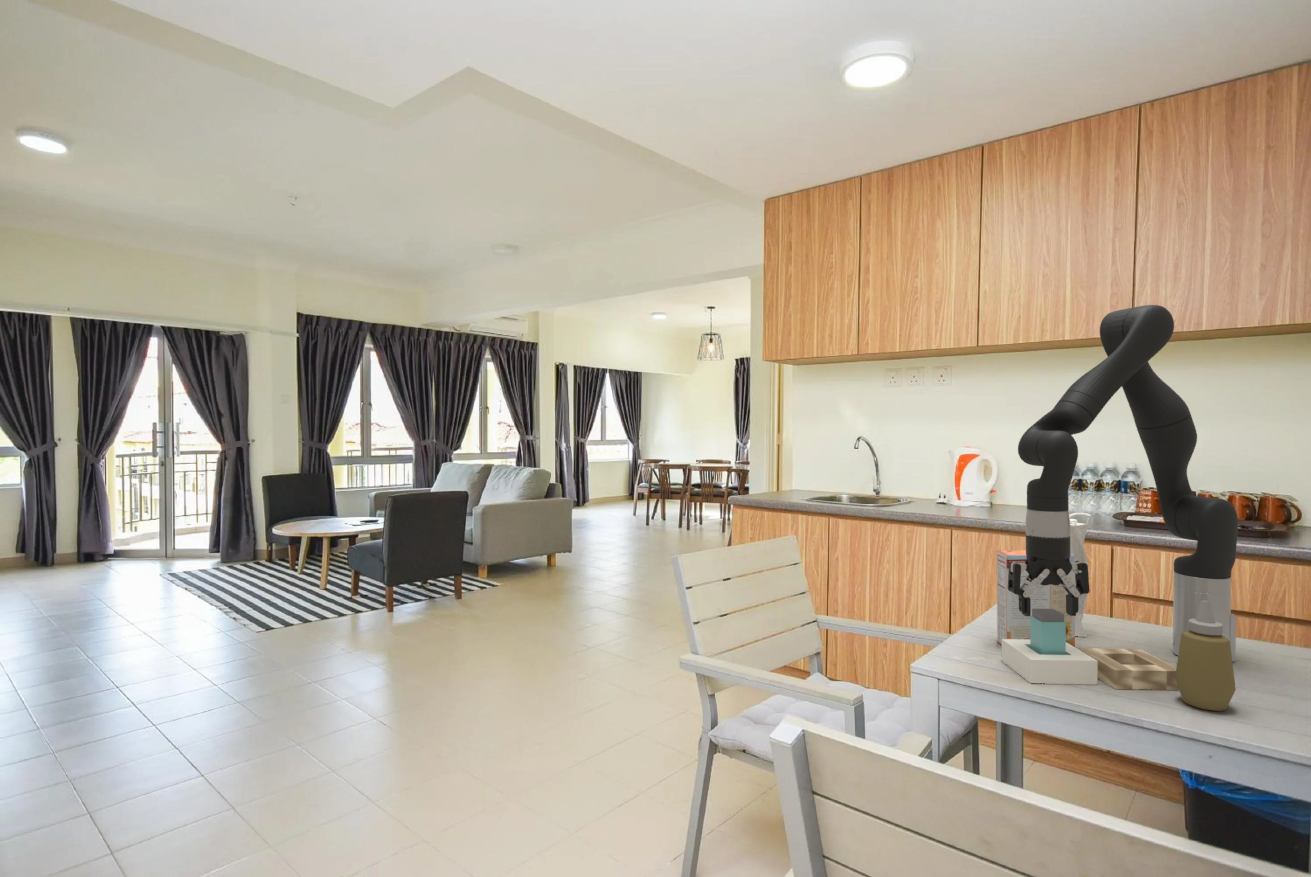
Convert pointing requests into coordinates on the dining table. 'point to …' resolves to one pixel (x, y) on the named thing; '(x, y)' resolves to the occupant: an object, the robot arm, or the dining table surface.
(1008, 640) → the port block
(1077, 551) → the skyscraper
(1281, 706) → the dining table surface
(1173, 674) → the wooden square frame
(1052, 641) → the plug
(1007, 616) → the cracker box
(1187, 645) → the squeeze bottle
